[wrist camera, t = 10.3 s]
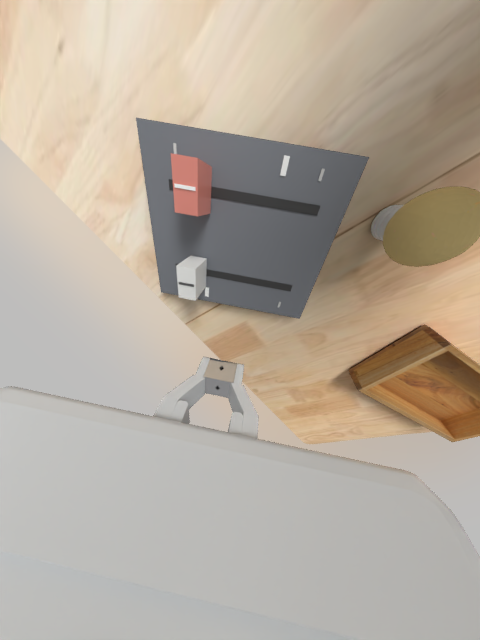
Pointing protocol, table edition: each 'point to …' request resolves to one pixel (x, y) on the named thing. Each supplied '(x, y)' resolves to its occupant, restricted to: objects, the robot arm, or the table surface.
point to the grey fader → (191, 277)
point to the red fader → (191, 185)
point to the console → (248, 214)
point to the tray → (425, 383)
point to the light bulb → (430, 226)
